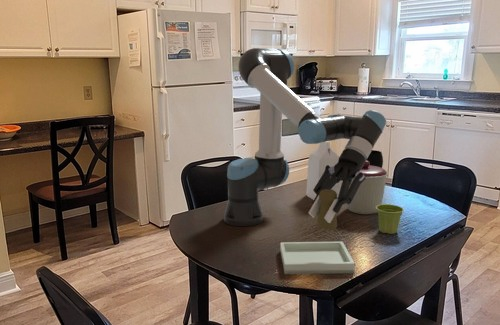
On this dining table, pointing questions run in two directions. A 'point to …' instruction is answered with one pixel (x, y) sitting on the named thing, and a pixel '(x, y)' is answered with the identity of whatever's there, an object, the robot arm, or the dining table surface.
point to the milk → (320, 167)
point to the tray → (316, 258)
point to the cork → (326, 209)
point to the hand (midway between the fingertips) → (319, 217)
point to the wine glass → (375, 158)
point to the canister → (369, 190)
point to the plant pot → (389, 217)
